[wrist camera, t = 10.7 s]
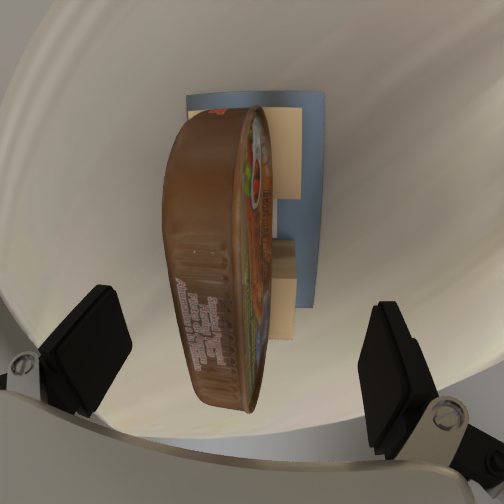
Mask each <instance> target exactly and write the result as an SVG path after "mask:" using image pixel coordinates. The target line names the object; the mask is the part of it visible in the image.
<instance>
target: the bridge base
mask: <svg viewBox="0 0 504 504" xmlns="http://www.w3.org/2000/svg"><path fill="white" fill-rule="evenodd" d="M186 102H187V121H188V120H189V119H190V118H192V117H193V116H195V115H196V114H198V113H200V112H202V111H205V110H211V109H225V108H247V107H252V106H254V105H260V106H261V107H262V108H263V110H264V113H265V115H266V118H267V122H268V127H269V133H270V140H271V152H272V173H273V219H272V281H271V282H272V286H271V313H270V327H269V336H268V339H281V340H292V339H293V327H294V314H295V308H313V303H314V294H315V284H316V274H317V263H318V251H319V239H320V225H321V209H322V190H323V166H324V116H325V101H324V92H305V91H240V92H222V93H208V94H197V95H187V96H186Z"/></svg>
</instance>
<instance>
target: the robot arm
mask: <svg viewBox="0 0 504 504" xmlns="http://www.w3.org/2000/svg"><path fill="white" fill-rule="evenodd" d="M38 350H39V352H40V354H41V356H40V357H38V356H37V355H36V354H35V353H33V352H23V353H20V354H18V355H17V356H16V357H14V359H12V361H11V362H10V364H9V367H8V373H6V374H3V375H0V504H504V443H503V442H501V441H499V440H497V439H495V438H493V437H491V436H490V435H488V434H486V433H484V432H483V431H481V430H479V429H477V428H475V427H474V426H472V425H470V424H468V421H469V414H468V410H467V408H466V406H465V405H464V404H463V403H462V402H461V401H459V400H458V399H456V398H453V397H451V396H441V397H439V395H438V392H437V390H436V387H435V384H434V381H433V379H432V376H431V373H430V371H429V368H428V366H427V363H426V361H425V358H424V356H423V353H422V351H421V348H420V346H419V343H418V342H417V340H416V339H415V338H412V337H411V335H410V332H409V330H408V328H407V325H406V323H405V321H404V318H403V316H402V314H401V312H400V309H399V307H398V305H397V303H396V302H395V301H380V302H379V303H378V306H373V309H372V313H371V317H370V321H369V325H368V328H367V332H366V336H365V340H364V343H363V347H362V350H361V354H360V357H359V361H358V374H359V380H360V386H361V392H362V398H363V405H364V411H365V418H366V425H367V433H368V441H369V446H370V447H374V452H375V455H381V454H385V460H377V461H376V460H375V461H351V462H288V461H270V460H258V459H247V458H238V457H231V456H224V455H217V454H210V453H204V452H199V451H194V450H188V449H183V448H179V447H174V446H169V445H165V444H161V443H157V442H153V441H149V440H146V439H142V438H139V437H135V436H132V435H128V434H125V433H122V432H119V431H116V430H112V429H109V428H106V427H103V426H101V425H98V424H95V423H92V422H90V421H87V420H84V419H82V418H79V417H77V416H74V414H75V412H76V411H77V413H78V414H80V415H82V416H85V417H87V418H90V416H91V414H92V412H95V411H96V410H97V408H98V407H99V405H100V403H101V401H102V400H103V398H104V396H105V394H106V393H107V391H108V389H109V387H110V386H111V384H112V382H113V381H114V379H115V377H116V375H117V374H118V372H119V370H120V369H121V367H122V365H123V364H124V362H125V360H126V359H127V357H128V355H129V354H130V352H131V350H132V341H131V338H130V335H129V332H128V329H127V325H126V322H125V319H124V316H123V313H122V309H121V306H120V303H119V299H118V296H117V293H116V291H115V290H113V288H112V286H108V285H96V286H95V287H94V288H93V289H92V290H91V291H90V292H89V293H88V294H87V295H86V296H85V297H84V299H83V300H82V301H81V302H80V303H79V304H78V305H77V306H76V307H75V308H74V309H73V310H72V311H71V312H70V313H69V315H68V316H67V317H66V318H65V319H64V320H63V321H62V322H61V323H60V324H59V326H58V327H57V328H56V329H55V330H54V331H53V332H52V333H51V335H50V336H49V337H48V338H47V339H46V340H45V341H44V343H43V344H42V345H41V346H40V347H39V348H38Z"/></svg>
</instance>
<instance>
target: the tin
mask: <svg viewBox="0 0 504 504" xmlns="http://www.w3.org/2000/svg"><path fill="white" fill-rule="evenodd" d="M272 219H273V173H272V152H271V140H270V133H269V127H268V122H267V118H266V115H265V113H264V110H263V108H262V107H261V106H260V105H254V106H252V107H247V108H225V109H211V110H205V111H202V112H200V113H198V114H196V115H195V116H193V117H192V118H190V119H189V120H188V121H187V122H186V123H185V124H184V125H183V127H182V128H181V129H180V131H179V133H178V135H177V137H176V139H175V141H174V144H173V147H172V150H171V153H170V156H169V159H168V163H167V167H166V172H165V177H164V185H163V198H162V233H163V241H164V248H165V256H166V262H167V267H168V275H169V281H170V286H171V292H172V297H173V302H174V308H175V313H176V319H177V323H178V327H179V332H180V337H181V341H182V345H183V349H184V354H185V358H186V362H187V366H188V370H189V374H190V378H191V382H192V385H193V389H194V391H195V393H196V395H197V397H198V398H199V399H200V400H201V401H202V402H203V403H205V404H208V405H211V406H215V407H221V408H227V409H234V410H240V411H245V412H246V413H249V414H250V413H252V412H253V411H254V409H255V407H256V404H257V400H258V397H259V393H260V388H261V383H262V377H263V372H264V365H265V358H266V350H267V343H268V336H269V327H270V313H271V286H272V282H271V281H272Z"/></svg>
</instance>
